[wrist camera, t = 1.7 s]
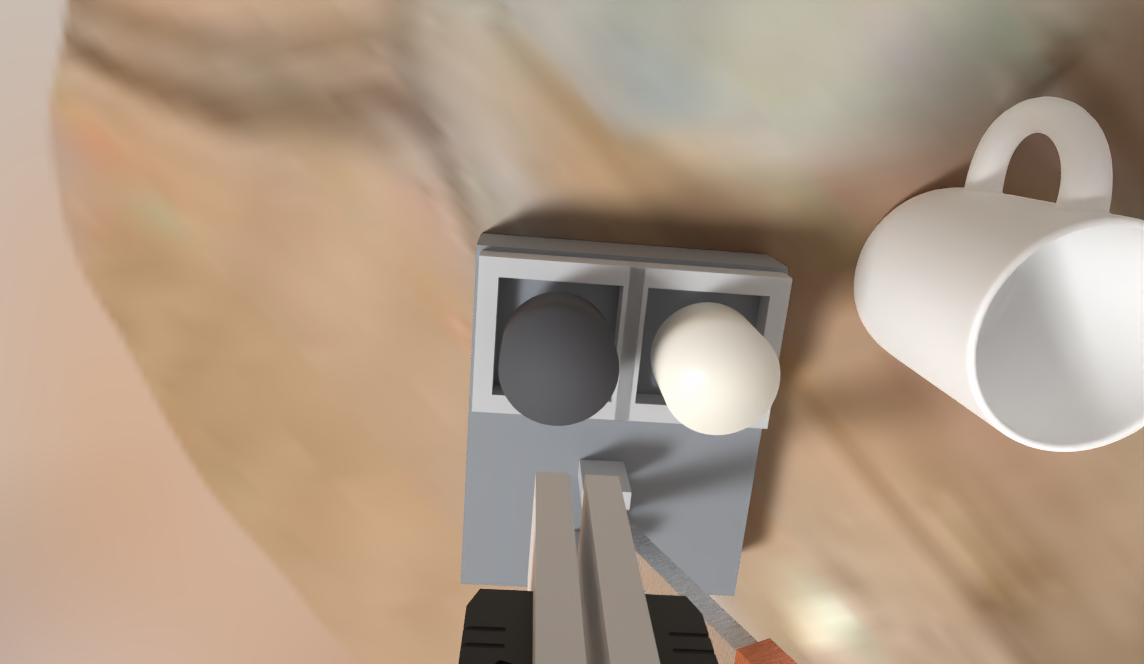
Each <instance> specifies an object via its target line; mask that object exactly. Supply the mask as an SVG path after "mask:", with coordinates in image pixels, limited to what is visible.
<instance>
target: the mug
mask: <svg viewBox="0 0 1144 664" xmlns="http://www.w3.org/2000/svg"><path fill="white" fill-rule="evenodd" d="M1033 133H1042V134H1045V135H1047V136H1048V137H1049V138H1050V139H1051V140H1052V141H1053V143H1054V144H1055V146H1056V148H1057V150H1058V154H1059V157H1060V163H1061V182H1060V189H1059V194H1058V198H1057V201H1056V203H1053V202H1048V201H1042V200H1037V199H1032V198H1026V197H1021V196H1016V195H1010V194H1003V192H1002V191H1003V185H1004V180H1005V175H1006V172H1007V168H1008V165H1009V162H1010V159H1011V157H1012V155H1013V153H1014V151H1015V149H1016V148H1017V146H1018V145H1019V144H1020V143H1021V141H1022V140H1023V139H1024V138H1026V137H1027V136H1028V135H1030V134H1033ZM1112 187H1113V170H1112V159H1111V154H1110V149H1109V145H1108V142H1107V140H1106V137H1105V135H1104V132H1103V131H1102V129H1101V128H1100V126H1099V124H1098V123H1097V121H1096V120H1095V119H1094V118H1093V117H1092V116H1091V115H1090V114H1089V113H1088V112H1087V111H1086V110H1085V109H1084V108H1082V107H1081V106H1079V105H1077V104H1076V103H1074V102H1071V101H1068V100H1065V99H1062V98H1058V97H1049V96H1044V97H1038V98H1032V99H1027V100H1025V101H1022V102H1020V103H1017V104H1016V105H1014V106H1013V107H1011V108H1009V109H1008V110H1006V111H1005V112H1003V113H1002V114H1001V115H1000V116H999V117H998V118H997V119H995V120H994V122H993V123H992V124H991V125H990V127H989V128H988V129H987V131H986V132H985V134H984V135H983V137H982V139H981V141H980V143H979V145H978V147H977V149H976V151H975V153H974V156H973V159H972V161H971V164H970V168H969V171H968V174H967V178H966V182H965V186H964V187H952V188H944V189H937V190H933V191H929V192H925V193H923V194H920V195H918V196H915V197H913V198H911V199H909V200H907V201H905V202H904V203H902V204H901V205H899V206H898V207H896V208H895V209H894V210H892V211H891V212H890V213H889V214H888V215H887V216H886V217H884V218H883V219H882V221H881V222H880V223H879V224H878V225H877V226H876V227H875V229H874V230H873V231H872V233H871V234H870V236H869V237H868V239H867V241H866V243H865V245H864V246H863V248H862V251H861V253H860V256H859V259H858V262H857V266H856V270H855V277H854V297H855V304H856V308H857V311H858V314H859V317H860V319H861V321H862V323H863V325H864V326H865V328H866V329H867V331H868V332H869V334H870V335H871V336H872V337H873V339H874V340H875V341H876V342H877V343H878V344H879V345H880V346H881V347H882V348H884V349H885V350H886V351H887V352H888V353H890V354H891V355H892V356H894V357H895V358H896V359H898V360H899V361H901V362H902V363H903V364H905V365H906V366H908V367H909V368H911V369H912V370H913V371H915V372H916V373H918V374H919V375H921V376H922V377H923V378H925V379H926V380H928V381H929V382H931V383H932V384H933V385H935V386H936V387H938V388H939V389H940V390H942V391H943V392H945V393H946V394H948V395H949V396H950V397H952V398H953V399H955V400H956V401H958V402H959V403H960V404H962V405H963V406H965V407H966V408H968V409H969V410H970V411H972V412H973V413H975V414H976V415H977V416H979V417H980V418H982V419H983V420H985V421H986V422H987V423H989V424H990V425H992V426H993V427H995V428H996V429H997V430H999V431H1000V432H1002V433H1003V434H1005V435H1006V436H1008V437H1010V438H1011V439H1013V440H1015V441H1017V442H1019V443H1022V444H1024V445H1027V446H1029V447H1033V448H1037V449H1041V450H1048V451H1057V452H1074V451H1082V450H1089V449H1093V448H1097V447H1101V446H1105V445H1107V444H1110V443H1113V442H1115V441H1118V440H1120V439H1122V438H1124V437H1126V436H1128V435H1130V434H1132V433H1134V432H1136V431H1137V430H1139V429H1141V428H1142V427H1144V220H1142V219H1138V218H1133V217H1128V216H1122V215H1116V214H1111V213H1110V211H1109V210H1110V204H1111V198H1112Z"/></svg>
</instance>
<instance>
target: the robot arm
mask: <svg viewBox="0 0 1144 664" xmlns="http://www.w3.org/2000/svg"><path fill="white" fill-rule="evenodd" d="M459 664H718V660H717V657H716V654H714V648H713V645H712V642H711V639H710V638H709V633H708V630H707V627H706V624H705V621H704V618H703V614H702V613H701V612H700V611H699V610H698V609H697V608H696V606H695V605H694V604H693V603H692V602H691V601H690V600H689V599H688V598H687V597H686V596H677V595H654V594H645V593H644V588H643V584H642V579H641V575H640V570H639V565H638V561H637V556H636V552H635V547H634V543H633V538H632V534H631V529H630V525H629V520H628V516H627V511H626V507H625V502H624V498H623V493H622V489H621V484H620V480H619V476H605V475H587V474H585V483H584V494H583V504H582V514H581V525H580V535H579V545H578V556H577V553H576V542H575V531H574V520H573V508H572V497H571V486H570V475H569V474H568V473H550V472H536V475H535V488H534V501H533V514H532V527H531V541H530V554H529V567H528V589H527V591H518V590H495V589H480V590H479V591H478V592H477V593H476V595H475V596H474V597H473V599H472V600H471V601H470V602H469V604H468V605H467V607H466V614H465V621H464V630H463V636H462V643H461V650H460V657H459Z"/></svg>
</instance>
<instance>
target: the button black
mask: <svg viewBox="0 0 1144 664" xmlns="http://www.w3.org/2000/svg"><path fill="white" fill-rule="evenodd" d="M498 374H499V381H500V384H501V388H502V390H503V392H504V394H505V396H506V398H507V399H508V401H509V402H510V404H511V405H512V406H513V407H514V408H515V409H516V410H517V411H518V412H519V413H521V414H522V415H524V416H525V417H527V418H529V419H530V420H532V421H535V422H538V423H541V424H545V425H551V426H565V425H572V424H576V423H579V422H581V421H584V420H586V419H588V418H590V417H592V416H593V415H595V414H596V413H597V412H599V411H600V410H601V409H602V408H603V407H604V406H605V405H606V403H607V402H608V401H609V399H610V398H611V396H612V395H613V393H614V391H615V388H616V385H617V382H618V377H619V358H618V354H617V351H616V348H615V344H614V341H613V338H612V335H611V332H610V329H609V326H608V324H607V322H606V320H605V318H604V316H603V315H602V314H601V312H600V311H599V310H598V309H597V308H596V307H595V306H594V305H593V304H592V303H590V302H589V301H587V300H586V299H584V298H582V297H580V296H577V295H575V294H571V293H566V292H548V293H543V294H540V295H537V296H534V297H532V298H530V299H529V300H527V301H525V302H524V303H523V304H521V305H520V306H519V307H518V308H517V309H516V310H515V311H514V312H513V314H512V315H511V316H510V318H509V320H508V321H507V324H506V326H505V329H504V332H503V337H502V344H501V351H500V358H499V365H498Z"/></svg>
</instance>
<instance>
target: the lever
mask: <svg viewBox="0 0 1144 664" xmlns="http://www.w3.org/2000/svg"><path fill="white" fill-rule="evenodd" d="M628 520H629V519H628ZM629 525H630V529H631V534H632V538H633V543H634V547H635V552H636V556H637V561H638V565H639V570H640V575H641V579H642V584H643V588H644V590H645V591H646V592H647V593H648V594H654V595H677V596H686V597H687V598H688V599H689V600H690V601H691V602H692V603H693V604H694V605H695V606H696V608H697V609H698V610H699V611H700V612H701V613H702V614H703V618H704V621H705V624H706V627H707V630H708V633H709V638H710V639H711V642H712V645H713V648H714V654H716V657H717V660H718V664H797V663H796V662H795V661H794V660H793V659H792V658H791V657H789V656H788V655H787V654H786V653H785V652H784V651H783V650H782V649H781V648H780V647H779V646H778V645H776V644H775V643H774V642H773V641H772V640H771V639H770V638H769V639H766V640H763V641H760V642H757V641H756V640H755V639H754V638H753V637H752V636H751V635H750V634H749V633H748V632H747V631H746V630H745V629H744V628H743V627H742V626H741V625H739V624H738V623H737V622H736V621H735V620H734V619H733V618H732V617H731V616H730V615H729V614H728V613H727V612H726V611H725V610H724V609H723V608H722V607H720V606H719V605H718V604H717V603H716V602H715V601H714V600H713V599H712V598H711V597H710V596H709V595H708V594H707V593H706V592H705V591H704V590H703V589H701V588H700V587H699V586H698V585H697V584H696V583H695V582H694V581H693V580H692V579H691V578H690V577H689V576H688V575H687V574H686V573H685V572H683V571H682V570H681V569H680V568H679V567H678V566H677V565H676V564H675V563H674V562H673V561H672V560H671V559H670V558H669V557H668V556H667V555H666V554H664V553H663V552H662V551H661V550H660V549H659V548H658V547H657V546H656V545H655V544H654V543H653V542H652V541H651V540H650V539H649V538H648V537H647V536H645V535H644V534H643V533H642V532H641V531H640V530H639V529H638V528H637V527H636V526H635V525H634V524H633V523H632V522H631V521H630V520H629Z"/></svg>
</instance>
